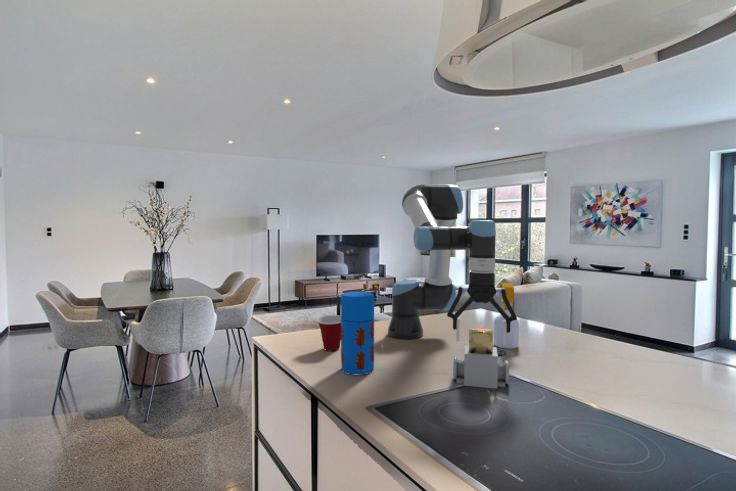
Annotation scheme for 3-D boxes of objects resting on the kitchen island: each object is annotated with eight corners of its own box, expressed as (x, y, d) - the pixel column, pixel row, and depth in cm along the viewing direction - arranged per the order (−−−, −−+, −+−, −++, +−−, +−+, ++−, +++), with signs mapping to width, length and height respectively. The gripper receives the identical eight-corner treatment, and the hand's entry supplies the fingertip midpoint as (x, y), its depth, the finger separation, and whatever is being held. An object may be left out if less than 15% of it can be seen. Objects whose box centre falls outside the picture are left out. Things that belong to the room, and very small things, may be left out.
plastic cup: (311, 351, 162) (311, 319, 162) (325, 344, 172) (325, 314, 172) (337, 354, 158) (337, 322, 157) (350, 346, 168) (350, 316, 167)
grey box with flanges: (452, 384, 129) (453, 353, 128) (454, 373, 138) (454, 344, 137) (509, 389, 125) (509, 357, 124) (507, 378, 134) (507, 348, 133)
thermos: (379, 367, 144) (379, 292, 143) (365, 377, 135) (365, 297, 133) (350, 362, 149) (350, 290, 148) (335, 372, 139) (334, 295, 138)
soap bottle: (515, 342, 174) (516, 282, 172) (520, 349, 164) (522, 285, 163) (492, 342, 174) (493, 281, 173) (496, 348, 165) (497, 284, 164)
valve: (493, 363, 127) (493, 332, 126) (468, 361, 128) (468, 331, 128) (492, 356, 133) (492, 326, 133) (469, 354, 135) (469, 325, 135)
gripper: (438, 271, 129) (438, 342, 130) (527, 274, 123) (526, 347, 124) (440, 269, 136) (440, 335, 137) (524, 271, 130) (523, 341, 131)
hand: (481, 341), depth 131 cm, fingers open, 13 cm apart
